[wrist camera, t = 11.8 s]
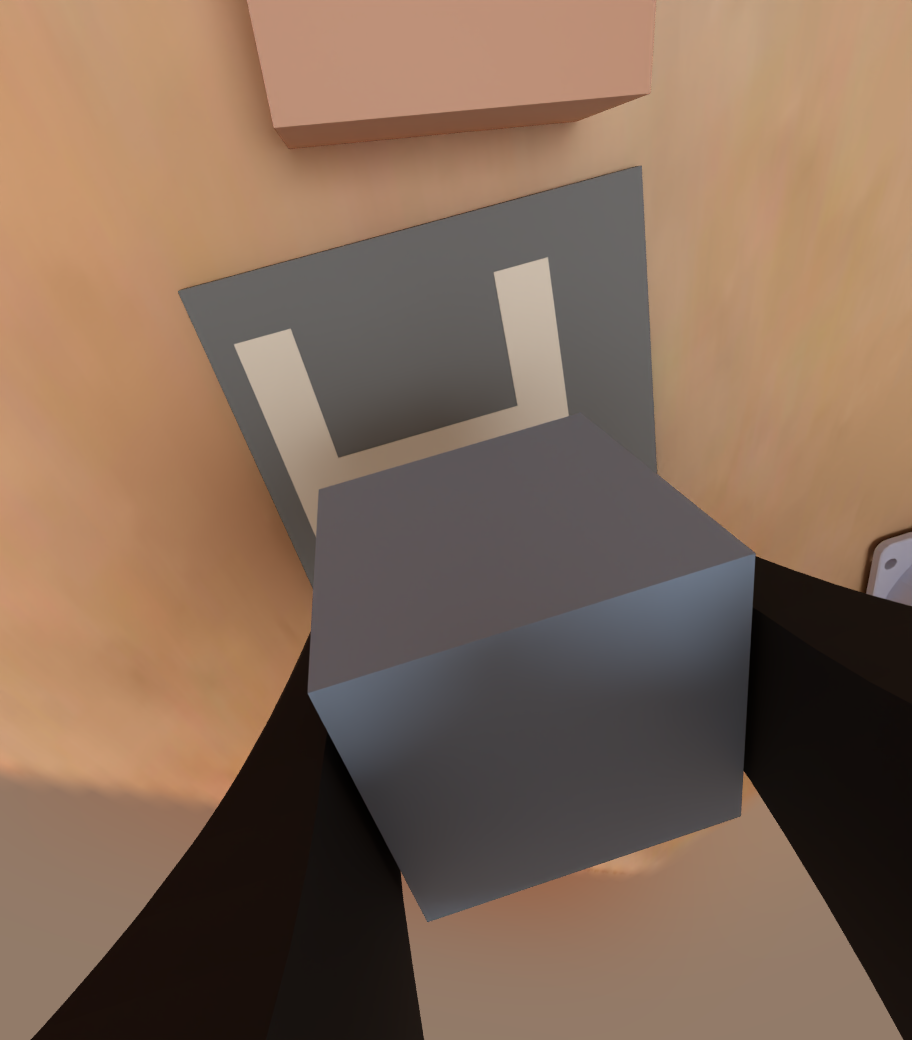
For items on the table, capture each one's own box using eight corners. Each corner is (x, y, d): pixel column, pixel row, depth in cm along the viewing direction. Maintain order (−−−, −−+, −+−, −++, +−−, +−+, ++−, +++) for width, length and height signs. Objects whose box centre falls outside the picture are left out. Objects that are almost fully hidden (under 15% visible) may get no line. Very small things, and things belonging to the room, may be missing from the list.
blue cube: (604, 614, 13) (741, 815, 9) (395, 680, 13) (427, 922, 8) (580, 412, 10) (756, 553, 6) (318, 488, 10) (307, 692, 6)
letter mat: (662, 660, 24) (667, 665, 23) (387, 748, 23) (388, 755, 23) (636, 166, 15) (642, 165, 14) (180, 289, 14) (177, 291, 14)
